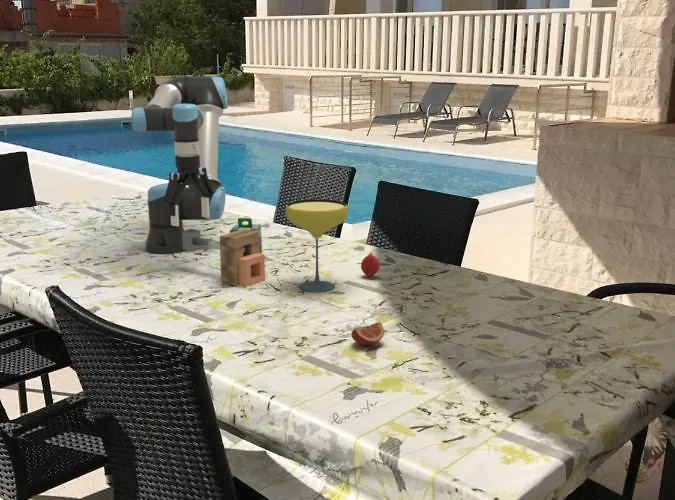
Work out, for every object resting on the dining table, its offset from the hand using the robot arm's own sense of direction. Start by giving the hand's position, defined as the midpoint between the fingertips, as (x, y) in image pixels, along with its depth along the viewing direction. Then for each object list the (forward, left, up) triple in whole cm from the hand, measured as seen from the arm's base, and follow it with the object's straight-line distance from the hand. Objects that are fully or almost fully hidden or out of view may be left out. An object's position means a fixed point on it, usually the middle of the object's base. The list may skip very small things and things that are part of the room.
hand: (190, 221), depth 241 cm
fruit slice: (+84, -1, -16) cm, 86 cm away
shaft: (+10, +2, -9) cm, 14 cm away
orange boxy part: (+25, +6, -12) cm, 28 cm away
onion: (+43, +38, -16) cm, 60 cm away
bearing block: (+20, +5, -16) cm, 26 cm away
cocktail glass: (+40, +19, -16) cm, 47 cm away
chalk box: (+1, +20, -16) cm, 26 cm away
